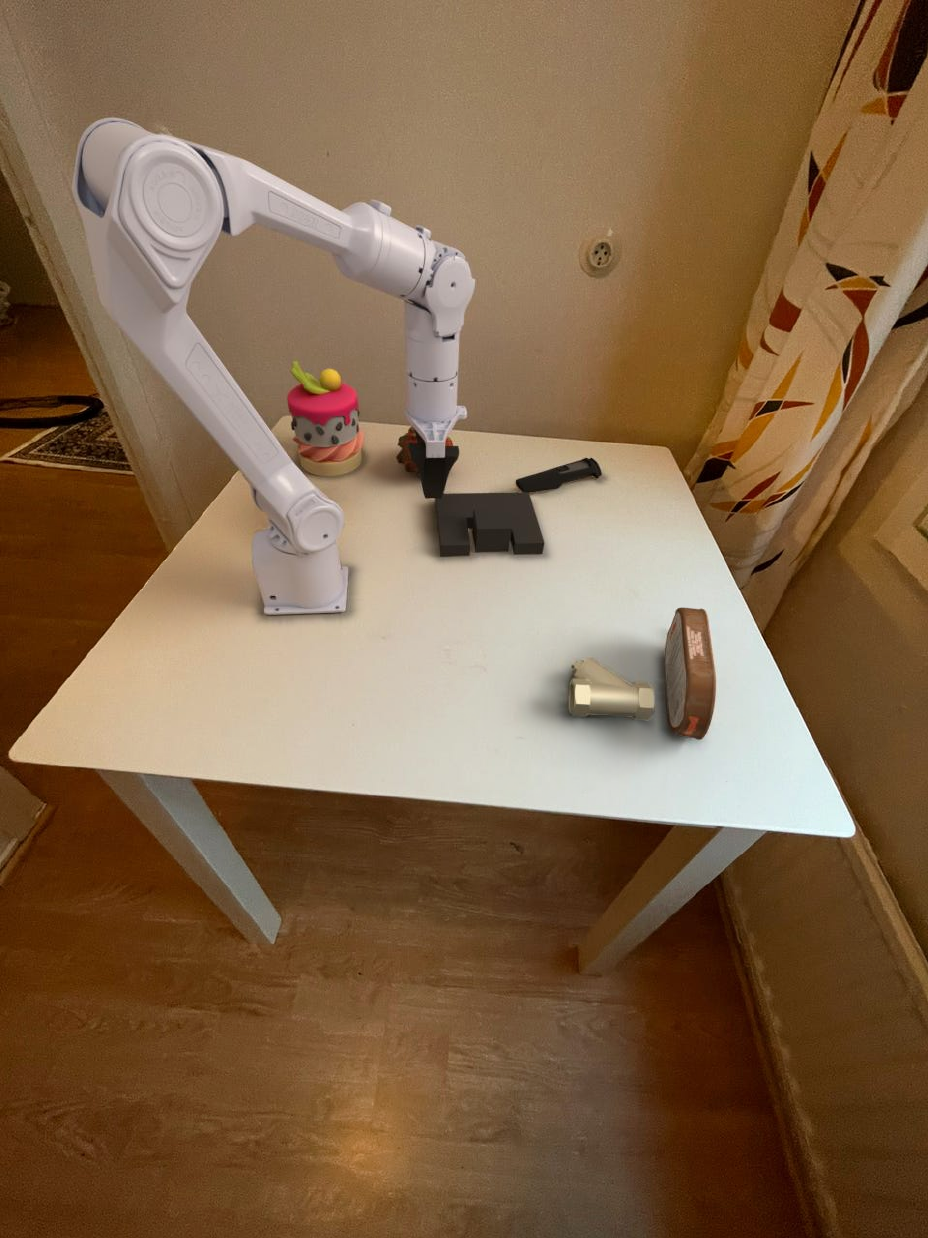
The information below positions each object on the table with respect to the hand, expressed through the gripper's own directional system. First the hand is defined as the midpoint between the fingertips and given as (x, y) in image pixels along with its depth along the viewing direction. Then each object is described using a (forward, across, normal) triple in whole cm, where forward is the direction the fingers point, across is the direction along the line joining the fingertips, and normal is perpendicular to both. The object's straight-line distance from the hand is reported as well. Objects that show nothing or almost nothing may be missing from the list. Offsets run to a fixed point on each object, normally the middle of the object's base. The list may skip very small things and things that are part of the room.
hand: (431, 479), depth 71 cm
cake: (+10, +21, +15) cm, 28 cm away
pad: (+9, -1, -8) cm, 12 cm away
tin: (+10, -28, -25) cm, 39 cm away
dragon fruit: (+10, +18, 0) cm, 20 cm away
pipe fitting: (+10, -28, -17) cm, 34 cm away
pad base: (+9, +2, -8) cm, 13 cm away
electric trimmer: (+10, +13, -21) cm, 26 cm away
